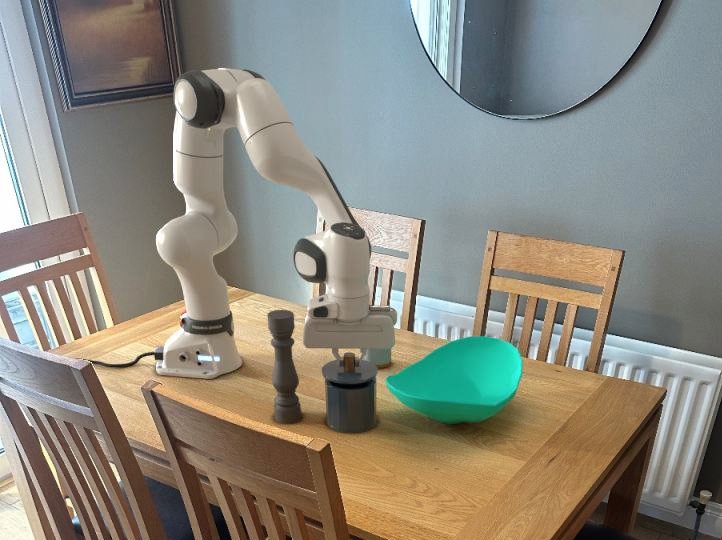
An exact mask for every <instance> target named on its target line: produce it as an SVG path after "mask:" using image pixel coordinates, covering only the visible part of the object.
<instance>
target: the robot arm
mask: <svg viewBox="0 0 722 540" xmlns="http://www.w3.org/2000/svg"><path fill="white" fill-rule="evenodd" d="M173 103H174V107H175V110H176V111H175V118H174V128H173V181H174V185H175V187H176V189H177V190H178V191H179V192H180V193H182V195H183V198H184V201H185V206H186V211H185V214H183V215H180V216H178V217H175V218H173V219H170V220H169V221H168V222H167V223H166V224H164V226H162V228H160V229H159V231H158V232H157V234H156V238H155V245H156V250H157V253H158V254H159V256H160V258H161V259H162V260H163V261H164V262H165V264H167V265H168V266H170V267H171V268H172V269H173V270H174V271H175V273H176V275H177V277H178V280H179V282H180V285H181V288H182V294H183V299H184V305H185V309H183V310H182V311H181V313H180V317H179V326H180V327H181V328H179V329H178V330H177V331H176V332H175V333H173V334H172V335H171V336H170V337H169V338H168V339H167V340H166V342H165V344H164V346H163V345H162V346H161V345H158V346H157V347H156V349H154V351H149V352H144V353H141V354H139V355H137V356H136V358H135V359H134V360H133V361H130V362H127V363H107V362H104V361H100V360H93V359H87V358H82V359H83V360H88V361H90V362H92V365H97V366H98V365H99V366H102V367H106V368H112V369H113V368H116V369H117V368H127V367H132V366H134V365H136V364H138V363H139V361H140V360H141V359H143V358H146V357H149V356H150V357H151V356H153V357H154V360H155V361H157V362H156V365H155V370H156V373H157V374H158V375H159V376H160V375H161V376H169V377H180V378H181V377H182V378H194V379H205V380H206V379H207V380H212V379H216V378H217V377H219V376H221V375H224V374H227V373H232V372H234V371H236V370H237V369H239V368H240V367H241V366H242V365H243V359H242V358H241V355H240V353H239V350H238V346H237V344H236V338H235V323H234V321H235V320H234V317H233V312H232V310H231V306H230V298H229V297H230V296H229V289H228V283H227V281H226V279H225V278H223V276H221V275H219V274H218V271H217V270H216V267H215V263H214V256H217V255H219V254H220V253H222V252H224V251H225V250H227V249H228V248H229V247H230V246H231V245H232V244H233V243H234V241H235V240H236V239H237V236H238V230H239V229H238V223H237V220H236V218H235V216H234V215H233V214H232V212H231V211H230V210H229V208H228V205H227V201H226V196H225V190H224V136H225V131H226V130H227V129H231V128H236V129H237V131H238V133H239V136H240V138H241V141H242V143H243V145H244V148H245V150H246V153H247V155H248V157H249V158H248V159H249V160H250V162H251V165H253V167H254V169H255V170H256V172H257V173H258V174H259V175H260V176H261V177H263V178H264V179H265V180H268V181H269V182H272V183H274V184H276V185H277V184H278V185H282V186H287V187H290V188H293V189H296V190H298V191H301V192H303V193H304V194H306V196H308V197H310V198H311V200H312V201H313V202H314V204H315V206H316V207H317V209H318V211H319V213H320V215H321V216H322V218H323V220H324V222H325V224H326V225H327V227H328V228H327V229H325V230H323V231H321V232H318V233H313V234H310V235H306V236H304V237H302V238H299V239H298V240H297V242H296V243H295V245H294V247H293V254H292V256H293V257H292V258H293V259H292V260H293V265H294V268H295V271H296V273H297V274H298V275H299V277H300V278H301V279H303V281H306V282H307V283H312V284H326V286H327V293H325V294H322V295H319V296H316V297H312V298H310V299H309V301H308V303H307V309H306V310H307V313H306V315H305V318H304V322H303V330H302V345H303V346H304V347H305V348H306V349H331V354H332V355H333V357H334V358H335V360H337V367H344V356H341V355H340V354H339V349H340V350H342V349H346V350H347V349H348V350H349V349H350V350H351V349H352V350H354V349H355V350H358V349H359V350H360V352H359V355H358V356H355V367H362V360H364V359H365V355H366V353H367V349H391V350H392V349H393V348H394V347H395V345H396V333H395V326H396V324H397V322H398V312H397V310H396V308H395V307H391V305H387V304H386V305H377V304H375V305H374V304H371V303H370V301H371V299H370V297H371V296H370V293H371V292H370V291H371V289H370V286H369V276H370V273H371V272H370V271H371V256H372V244H371V240H370V238H369V237H368V234H367V232H366V230H365V229H364V228H363V227H361V226H360V224H359V223H358V222H357V220H356V219H355V217H354V215H353V214H352V212H351V210H350V208H349V207H348V205H347V203H346V201H345V199H344V197H343V195H342V194H341V192H340V189H339V188H338V187H337V185H336V183H335V181H334V180H333V178H332V175H331V174H330V172H329V171H328V169H327V167H326V165H324V163H323V162H322V161H321V159H320V158H319V157H317V156H316V155H315V154H314V153H312V152H311V151H310V149H308V147H307V146H306V145H305V143H304V142H303V141H302V139H301V137H300V135H299V133H298V132H297V129H296V128H295V125H294V124H293V121H292V119H291V116H290V114H289V112H288V110H287V108H286V106H285V104H284V103H283V101H282V99H281V97H280V96H279V94H278V92H277V91H276V89H275V88H274V87H273V85H272V83H270V82H269V81H268V80H266V78H264V77H263V76H262V75H261V74H260V73H258V72H255V71H254V70H250V69H237V68H228V67H219V68H213V69H204V70H199V69H193V70H189V71H186V72H183V73H181V74H180V75H179V76H178V77H177V78H176V80H175V82H174V87H173ZM369 310H370V311H369ZM75 359H81V358H77V357H76V358H75Z"/></svg>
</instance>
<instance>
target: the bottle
mask: <svg viewBox="0 0 722 540" xmlns="http://www.w3.org/2000/svg"><path fill="white" fill-rule="evenodd" d="M369 311H370V310H369ZM364 360H365V361H368V362H371V363H372V364H374V365H375V366H376V367H377V370H378V369H385V368H387V367H389V366H390V365H391V363H392V349H367V353H366V355H365V356H364Z"/></svg>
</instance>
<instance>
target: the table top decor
mask: <svg viewBox="0 0 722 540" xmlns="http://www.w3.org/2000/svg"><path fill="white" fill-rule="evenodd" d="M523 366H524V361H523V357H522V355H521V353H520V351H519V349H518V348H517V347H515V346H514V345H513V344H512V343H511V342H510V341H506V340H503V339H501V338H497V337H491V336H487V335H486V336H485V335H484V336H483V335H482V336H481V335H472V336H471V335H470V336H466V337H461V338H457V339H454V340H451V341H449V342H447V343H445V344H443V345H441V346H439V347H437V348H435V349H434V350H432V351H431V352H430V353H428V354H427V355H425V356H424V357H422V358H421V359H420V360H418V361H416V362H414V363H412V364H409V365H408V366H406V367H405V368H403V369H401V370H400V371H399V372H397V373H396V374H391V375H390V374H389V375H387V376H386V377H385V379H384V382H385V384H386V387H387V390H388V391H389V392H390V394H391V395H392V396H394V397H395V399H397V401H399V402H400V403H401V404H402V405H404V406H406V407H407V408H409V409H411V410H412V411H415V412H416V413H419V414H421V415H423V416H425V417H427V418H430V419H432V420H434V421H436V422H438V423H441V424H445V425H457V424H461V423H469V424H475V423H481V422H483V421H485V420H487V419H489V418H491V417H493V416H494V415H496V414H498V413H500V412H501V411H502V410H503V409H504V408H505V407H506V406H507V405H508V404H509V403H510V402H511V401H512V400H513V399H514V398H515V396H516V394H517V392H518V389H519V386H520V383H521V379H522V377H523V370H524V369H523V368H524V367H523Z"/></svg>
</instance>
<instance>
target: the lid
mask: <svg viewBox="0 0 722 540" xmlns="http://www.w3.org/2000/svg"><path fill="white" fill-rule="evenodd" d="M343 357H344V367H337V360H336V359H333V360H331V361H328V362H327V363H325V364H324V365H322V367H321V371H320V372H321V375H322V377H323V378H324V379H325V378H326V379H327V380H329V381H332V382H336V383H341V384H358V383H364V382H367V381H370V380H372V379H373V378H375V377H376V378H377V375H378V374H379V373H378V371H379V370H378V368H377V367H376V366H375V365H374V364H372V363H371V362H368V361H365V359H362V367H355V357H356V354H355V353H354V352H352V351H351V352H349V351H348V352H344V353H343Z"/></svg>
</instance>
